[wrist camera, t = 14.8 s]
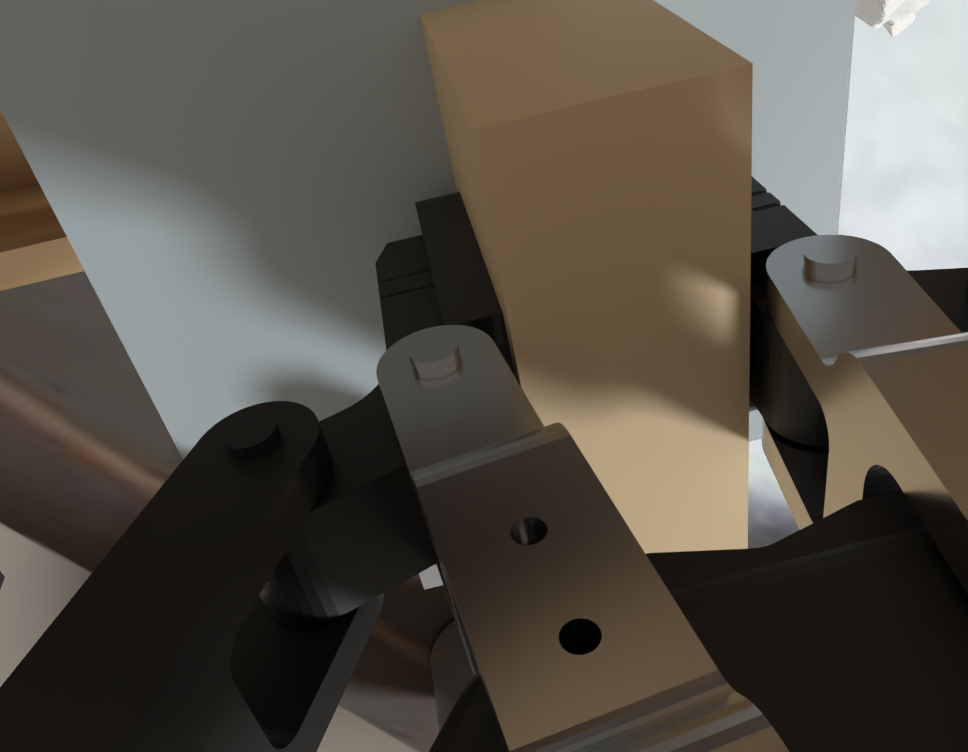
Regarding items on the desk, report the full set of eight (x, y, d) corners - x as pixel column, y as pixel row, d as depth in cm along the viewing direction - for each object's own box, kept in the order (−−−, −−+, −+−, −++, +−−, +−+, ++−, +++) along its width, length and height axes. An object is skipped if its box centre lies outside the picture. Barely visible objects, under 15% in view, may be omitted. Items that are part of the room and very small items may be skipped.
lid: (777, 365, 18) (969, 607, 13) (246, 495, 18) (217, 799, 12) (800, -307, 11) (1223, -387, 6) (-47, -119, 11) (-381, -31, 6)
